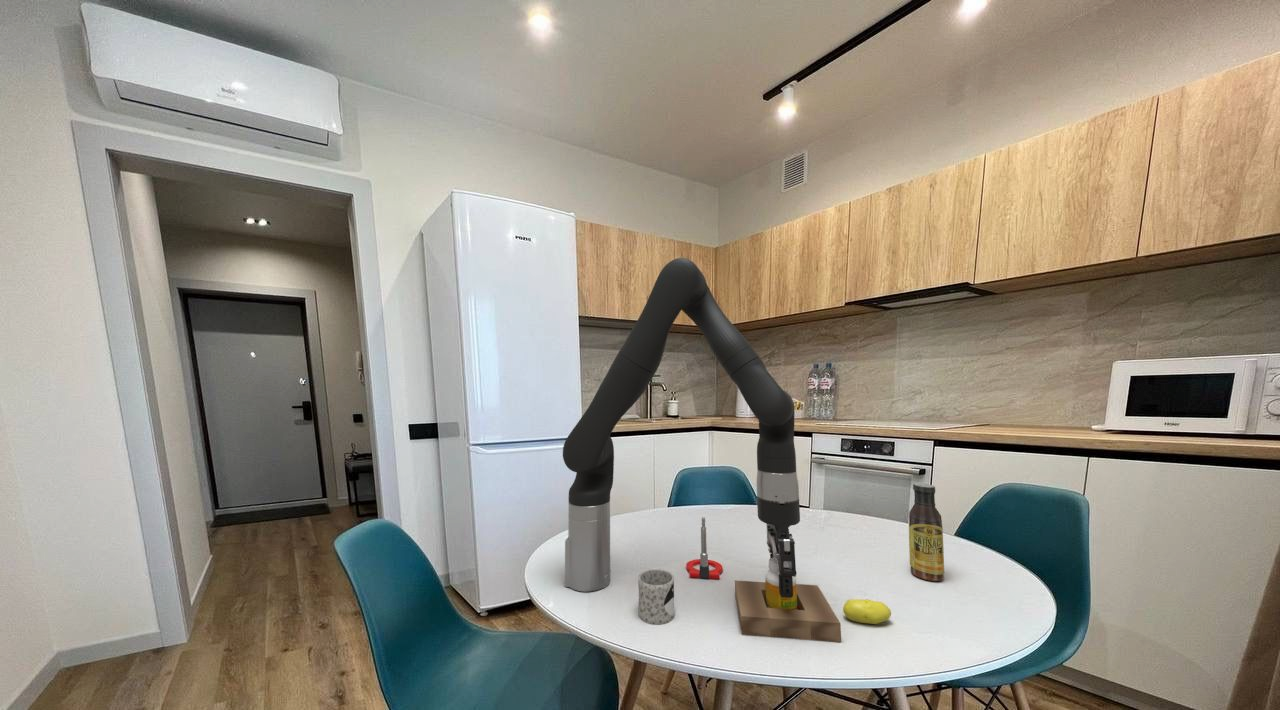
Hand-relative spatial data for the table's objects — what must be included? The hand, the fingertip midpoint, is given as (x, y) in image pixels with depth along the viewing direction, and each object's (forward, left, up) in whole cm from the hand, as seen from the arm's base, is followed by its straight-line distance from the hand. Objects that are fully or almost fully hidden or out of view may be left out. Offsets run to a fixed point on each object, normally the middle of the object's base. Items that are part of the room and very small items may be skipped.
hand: (781, 584), depth 73 cm
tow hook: (-14, +18, -6) cm, 23 cm away
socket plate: (0, 0, -6) cm, 6 cm away
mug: (-23, 0, -6) cm, 24 cm away
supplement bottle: (0, 0, -6) cm, 6 cm away
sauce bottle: (+35, +20, -6) cm, 41 cm away
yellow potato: (+15, +1, -6) cm, 16 cm away
